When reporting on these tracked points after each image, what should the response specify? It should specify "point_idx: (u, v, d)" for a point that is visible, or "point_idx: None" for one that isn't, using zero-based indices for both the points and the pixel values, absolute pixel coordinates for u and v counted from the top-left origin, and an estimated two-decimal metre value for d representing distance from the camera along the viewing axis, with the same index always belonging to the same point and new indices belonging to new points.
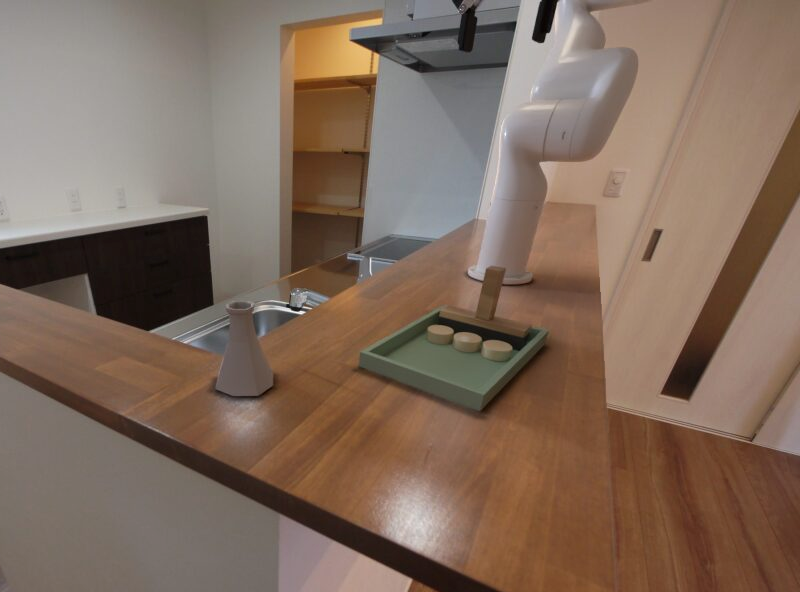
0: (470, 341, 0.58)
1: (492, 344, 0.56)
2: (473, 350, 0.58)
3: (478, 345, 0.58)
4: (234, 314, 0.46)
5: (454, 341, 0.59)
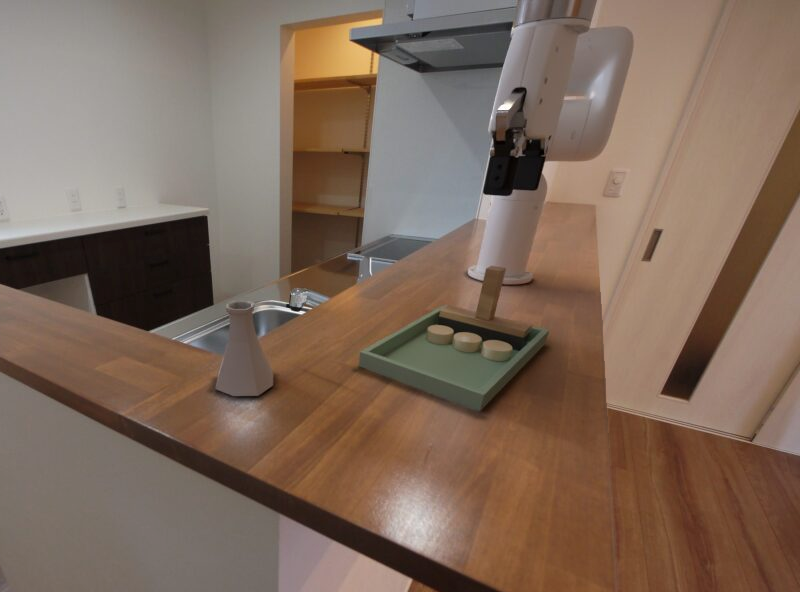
0: (470, 341, 0.58)
1: (492, 344, 0.56)
2: (473, 350, 0.58)
3: (478, 345, 0.58)
4: (234, 314, 0.46)
5: (454, 341, 0.59)
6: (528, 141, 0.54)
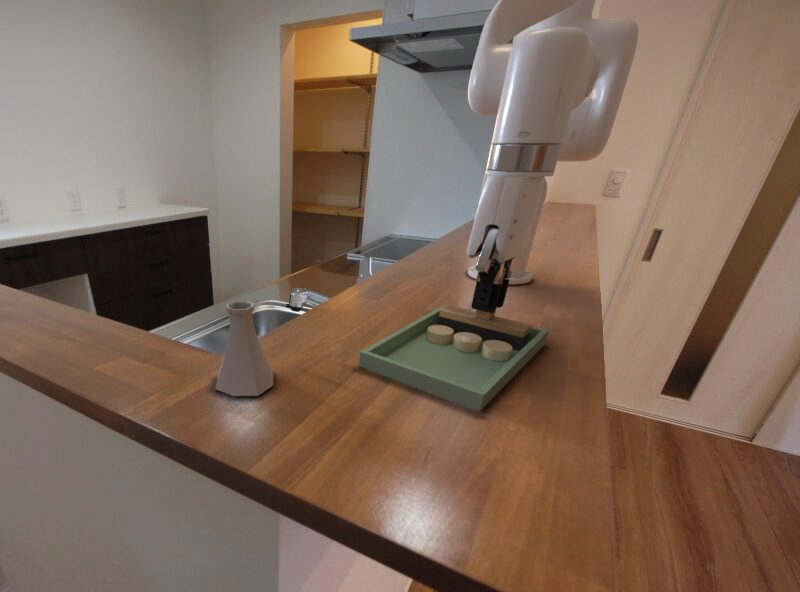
0: (470, 341, 0.58)
1: (492, 344, 0.56)
2: (473, 350, 0.58)
3: (478, 345, 0.58)
4: (234, 314, 0.46)
5: (454, 341, 0.59)
6: None
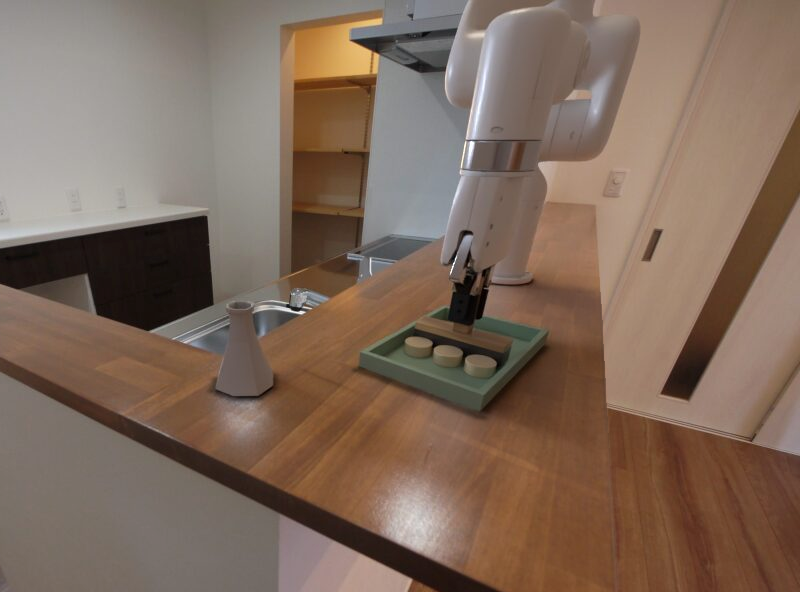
0: (450, 355, 0.54)
1: (475, 360, 0.53)
2: (454, 365, 0.54)
3: (459, 359, 0.54)
4: (234, 314, 0.46)
5: (434, 355, 0.55)
6: None
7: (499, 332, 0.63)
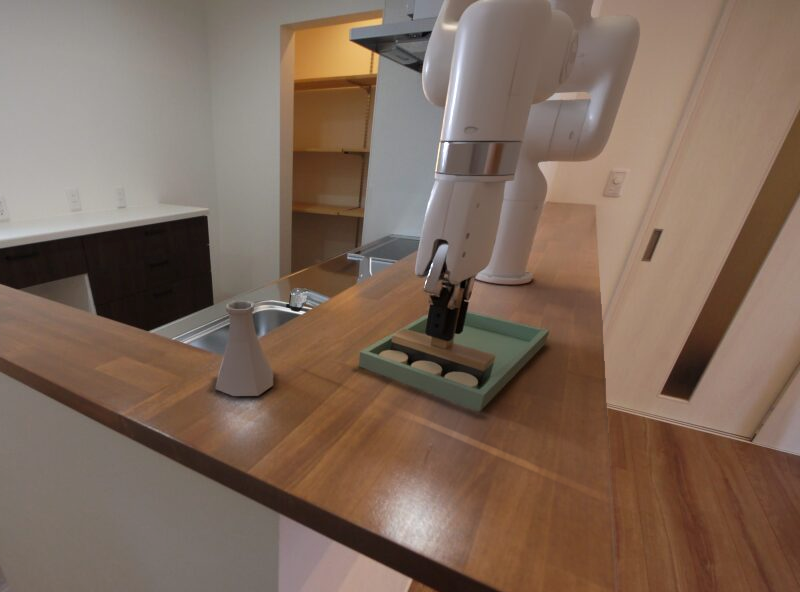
0: None
1: (455, 378, 0.49)
2: None
3: None
4: (234, 314, 0.46)
5: None
6: None
7: (499, 332, 0.63)
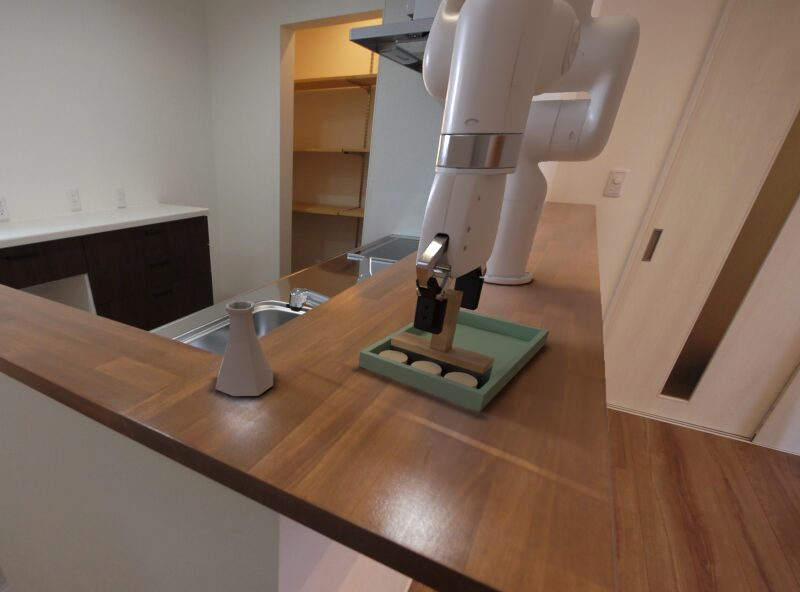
0: None
1: (455, 379, 0.48)
2: None
3: None
4: (234, 314, 0.46)
5: None
6: None
7: (499, 332, 0.63)
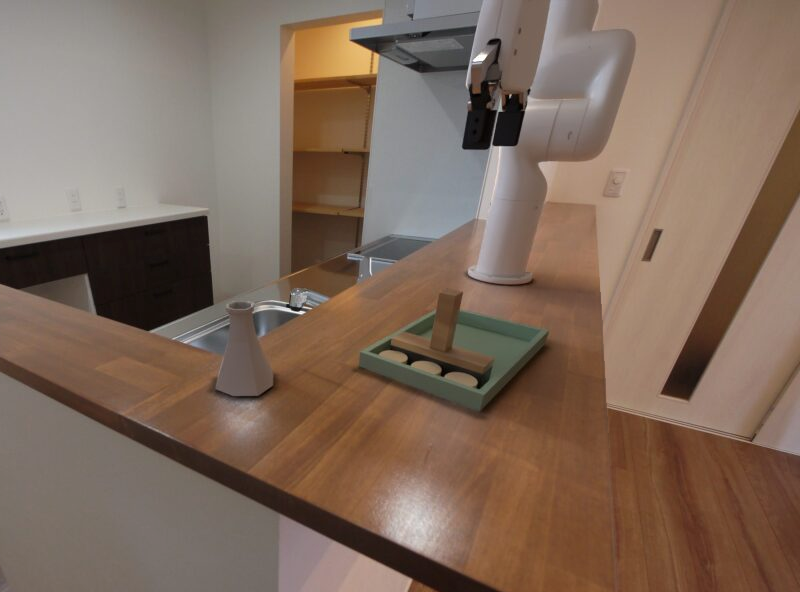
0: None
1: (455, 379, 0.48)
2: None
3: None
4: (234, 314, 0.46)
5: None
6: (507, 96, 0.55)
7: (499, 332, 0.63)
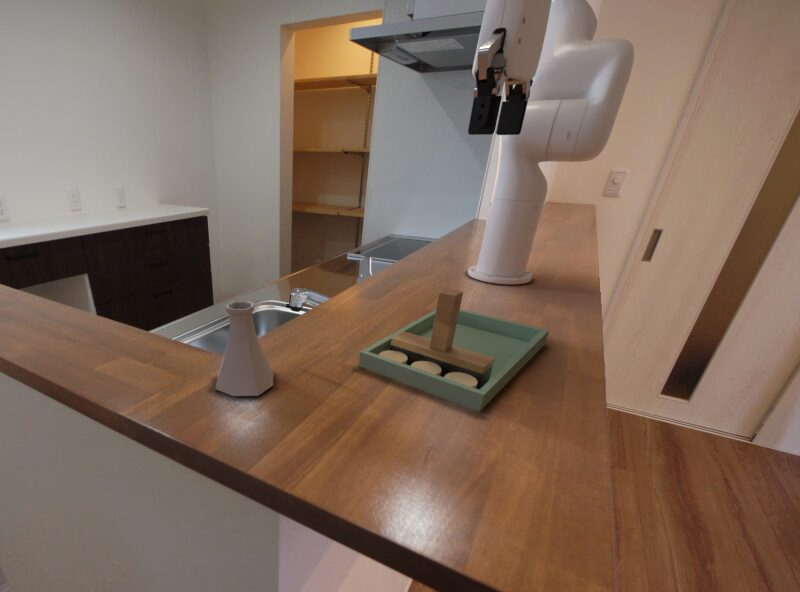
0: None
1: (455, 379, 0.48)
2: None
3: None
4: (234, 314, 0.46)
5: None
6: (511, 87, 0.58)
7: (499, 332, 0.63)
